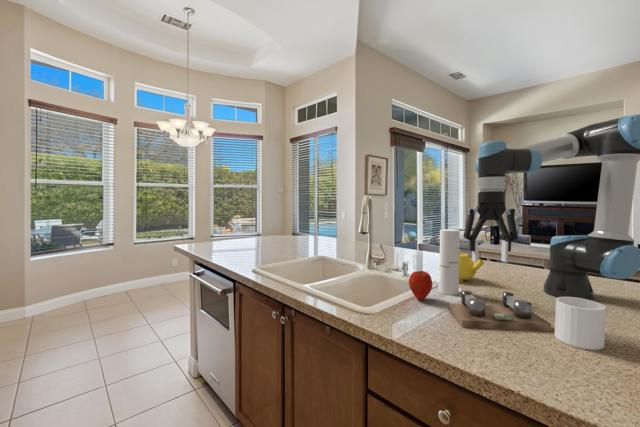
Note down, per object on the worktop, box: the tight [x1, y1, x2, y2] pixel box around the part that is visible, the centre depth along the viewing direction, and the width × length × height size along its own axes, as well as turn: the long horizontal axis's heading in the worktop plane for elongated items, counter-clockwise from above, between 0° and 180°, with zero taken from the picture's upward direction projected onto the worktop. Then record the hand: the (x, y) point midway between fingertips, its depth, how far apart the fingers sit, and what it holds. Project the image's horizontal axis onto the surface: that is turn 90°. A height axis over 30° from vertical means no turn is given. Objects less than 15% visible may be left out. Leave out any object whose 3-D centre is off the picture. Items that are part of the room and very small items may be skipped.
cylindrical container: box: [438, 228, 461, 296], centre depth 122 cm, size 7×7×25 cm
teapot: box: [438, 249, 485, 284], centre depth 139 cm, size 20×16×14 cm
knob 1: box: [461, 290, 487, 317], centre depth 97 cm, size 13×4×4 cm, turn 173°
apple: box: [408, 270, 433, 301], centre depth 114 cm, size 9×8×11 cm
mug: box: [554, 296, 607, 351], centre depth 81 cm, size 13×10×10 cm
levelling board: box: [447, 303, 552, 332], centre depth 95 cm, size 24×14×4 cm, turn 83°
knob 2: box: [502, 291, 533, 318], centre depth 96 cm, size 13×4×4 cm, turn 173°
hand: (489, 261), depth 98 cm, fingers open, 8 cm apart
